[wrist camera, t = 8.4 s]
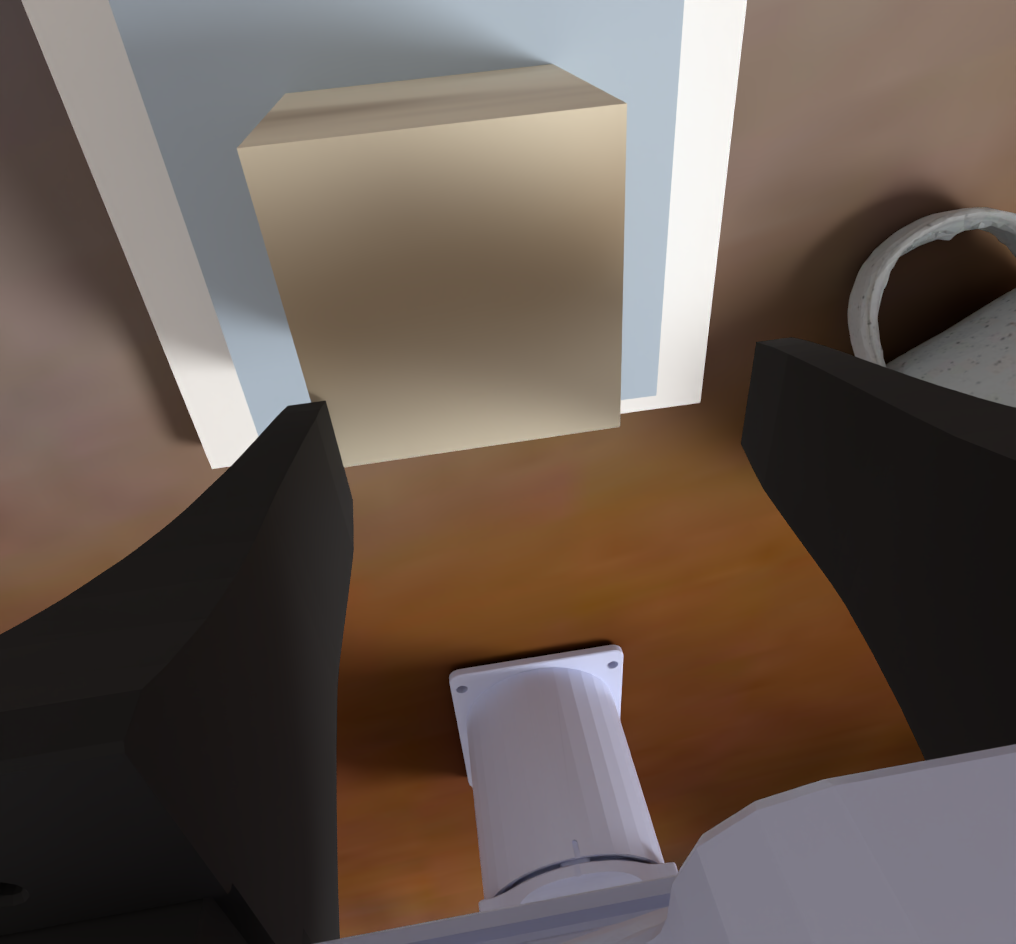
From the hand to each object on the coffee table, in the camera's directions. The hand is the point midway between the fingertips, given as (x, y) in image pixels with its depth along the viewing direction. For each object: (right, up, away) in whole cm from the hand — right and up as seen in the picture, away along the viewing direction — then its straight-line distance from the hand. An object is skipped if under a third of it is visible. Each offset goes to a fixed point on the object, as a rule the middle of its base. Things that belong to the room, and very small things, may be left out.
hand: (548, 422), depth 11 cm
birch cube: (-2, +4, +3) cm, 6 cm away
